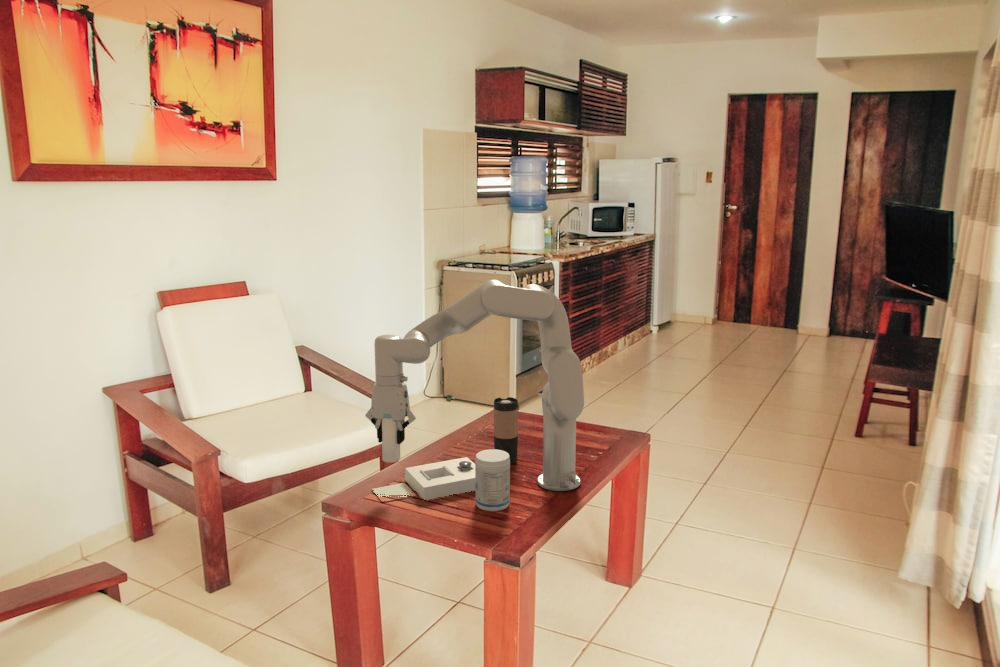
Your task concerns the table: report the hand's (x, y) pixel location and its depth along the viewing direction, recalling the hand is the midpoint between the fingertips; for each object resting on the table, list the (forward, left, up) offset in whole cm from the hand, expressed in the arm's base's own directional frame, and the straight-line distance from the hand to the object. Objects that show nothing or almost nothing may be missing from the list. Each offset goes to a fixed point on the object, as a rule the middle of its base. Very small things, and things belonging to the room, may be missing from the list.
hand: (391, 441), depth 214 cm
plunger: (-1, -22, -15) cm, 27 cm away
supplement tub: (-20, -22, -16) cm, 34 cm away
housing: (-1, -16, -16) cm, 23 cm away
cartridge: (0, 0, -5) cm, 5 cm away
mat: (0, 0, -16) cm, 16 cm away
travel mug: (+8, -40, -16) cm, 44 cm away
